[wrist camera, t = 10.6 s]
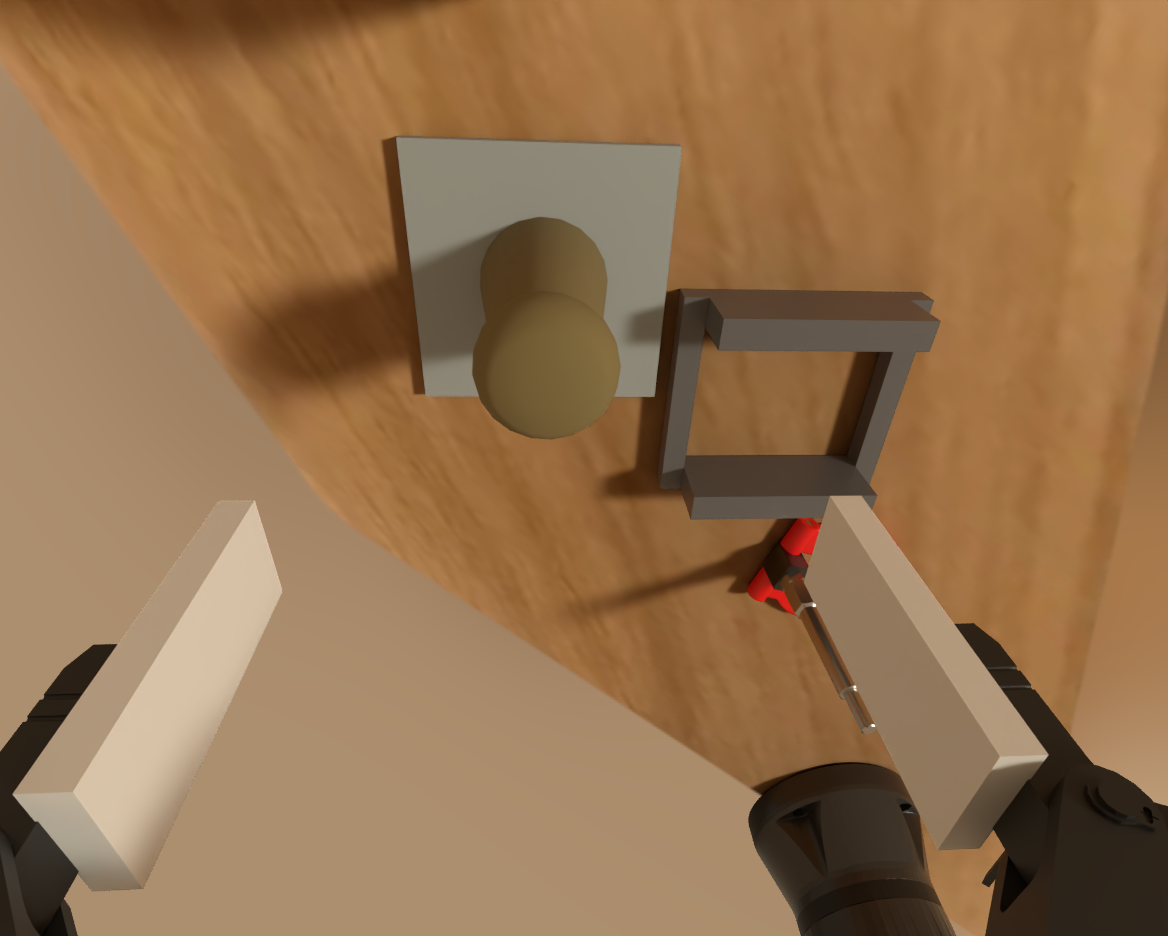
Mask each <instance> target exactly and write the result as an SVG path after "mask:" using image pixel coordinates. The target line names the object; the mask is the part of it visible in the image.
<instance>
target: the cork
mask: <svg viewBox="0 0 1168 936" xmlns="http://www.w3.org/2000/svg"><path fill="white" fill-rule="evenodd" d="M607 282H608V279H607V273H606V267H605V261H604V259H603V257H602V255H601V253H600V251H599V250H598V248H597V246H596V244H595V242H594V241H593V240H592V239H591V238H590V237H588V236H587V235H586V234H585V233H584V232H583V231H582V230H581V229H580V228H578V227H576V226H574V225H572V224H570V223H568V222H566V221H564V220H561V219H556V218H547V217H535V218H531V219H526V220H522V221H518V222H517V223H515V224H513V225H512V226H510V227H508V228H507V229H505V230H503V231H502V232H501V233H500V234H499V235H498V236H497V237H496V239H495V240H494V241H493V242H492V243H491V245H490V246H489V247H488V249H487V252H486V254H485V257H484V259H483V262H482V265H481V273H480V290H481V295H482V301H483V307H484V312H485V318H486V323H485V324H484V325H483V326H482V329H481V331H480V334H479V337H478V339H477V342H476V344H475V347H474V351H473V364H472V376H473V379H474V382H475V385H476V389H477V392H478V395H479V397H480V400H481V402H482V404H483V405H484V406H485V408H486V409H487V410H488V412H489V413H490V414H491V416H492V417H493V418H494V419H495V420H497V421H498V422H499V423H501V424H502V425H503V426H505V427H506V428H508V429H509V430H510V431H513V432H516V433H519V434H522V435H524V436H527V437H530V438H539V439H556V438H561V437H566V436H571V435H573V434H575V433H577V432H579V431H581V430H583V429H585V428H587V427H589V426H591V425H592V424H593V423H594V422H595V421H596V420H597V419H598V418H599V417H600V416H601V415H603V414H604V413H605V412H606V410H607V408H608V406H609V405H610V403H611V401H612V399H613V397H614V395H615V393H616V390H617V386H618V381H619V375H620V369H621V365H620V359H619V353H618V347H617V343H616V340H615V338H614V336H613V334H612V332H611V331H610V329H609V327H608V325H607V323H606V322H605V320H604V319H603V318H604V309H605V300H606V291H607Z"/></svg>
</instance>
